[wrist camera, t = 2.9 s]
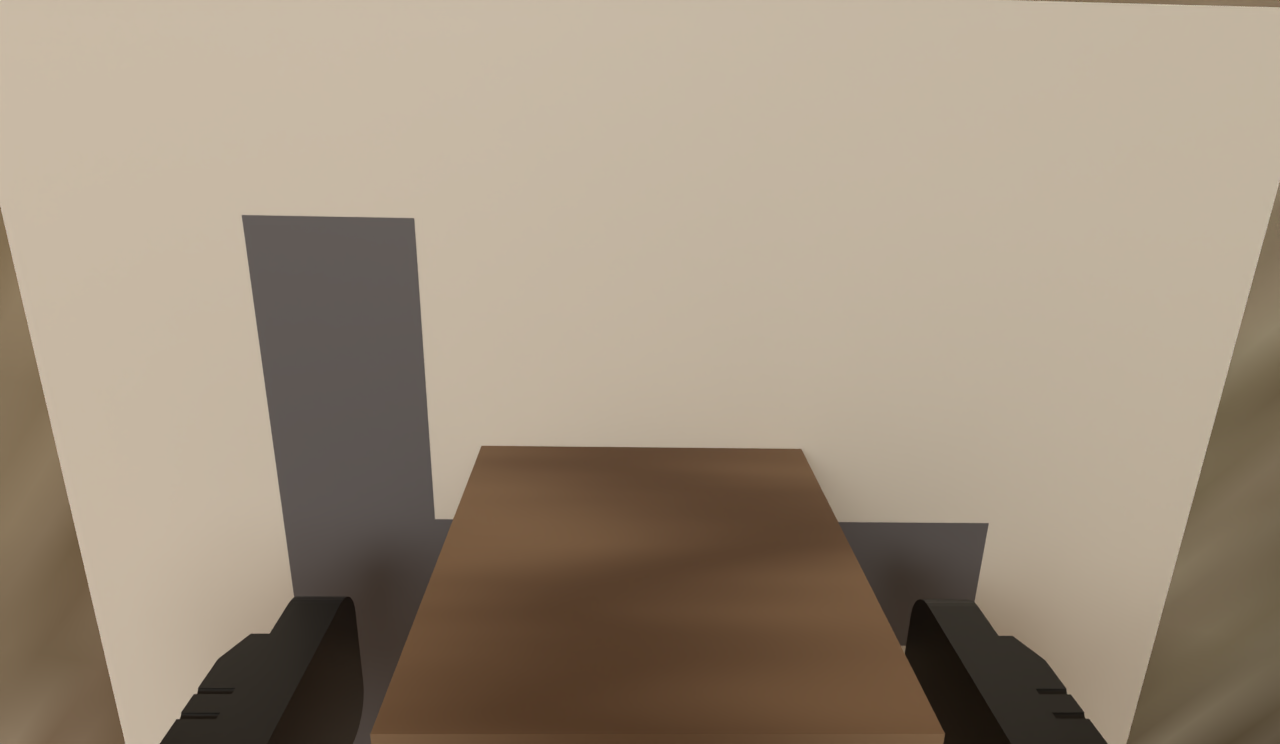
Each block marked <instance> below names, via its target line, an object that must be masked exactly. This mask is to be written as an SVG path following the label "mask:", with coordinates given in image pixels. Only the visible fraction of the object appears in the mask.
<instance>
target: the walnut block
mask: <svg viewBox="0 0 1280 744" xmlns="http://www.w3.org/2000/svg"><path fill="white" fill-rule="evenodd" d="M370 737H371V744H943V742H944V737H945V733H944V731H943V729H942V727H941V725H940V723H939V721H938V719H937V717H936V715H935V713H934V711H933V709H932V707H931V705H930V703H929V701H928V699H927V697H926V695H925V693H924V691H923V689H922V687H921V685H920V683H919V681H918V679H917V677H916V675H915V673H914V671H913V669H912V667H911V665H910V663H909V661H908V659H907V657H906V655H905V654H904V652H903V650H902V648H901V646H900V644H899V642H898V640H897V638H896V636H895V634H894V632H893V630H892V628H891V626H890V624H889V622H888V620H887V618H886V616H885V614H884V612H883V610H882V608H881V606H880V604H879V602H878V600H877V598H876V596H875V594H874V592H873V590H872V588H871V586H870V584H869V582H868V580H867V578H866V576H865V574H864V572H863V570H862V568H861V566H860V564H859V562H858V560H857V558H856V556H855V554H854V552H853V550H852V548H851V546H850V544H849V542H848V541H847V539H846V537H845V535H844V533H843V531H842V529H841V527H840V525H839V523H838V521H837V519H836V517H835V515H834V513H833V511H832V509H831V507H830V505H829V503H828V501H827V499H826V497H825V495H824V493H823V491H822V489H821V487H820V485H819V483H818V481H817V479H816V477H815V475H814V473H813V471H812V469H811V467H810V465H809V463H808V461H807V459H806V457H805V455H804V453H803V451H802V449H761V448H659V447H556V446H481V449H480V451H479V454H478V456H477V459H476V461H475V464H474V467H473V469H472V472H471V474H470V477H469V480H468V482H467V485H466V487H465V490H464V493H463V495H462V498H461V500H460V503H459V506H458V508H457V511H456V513H455V516H454V518H453V521H452V524H451V526H450V529H449V531H448V534H447V537H446V539H445V542H444V544H443V547H442V550H441V552H440V555H439V557H438V560H437V563H436V565H435V568H434V570H433V573H432V575H431V578H430V581H429V583H428V586H427V588H426V591H425V594H424V596H423V599H422V601H421V604H420V607H419V609H418V612H417V614H416V617H415V620H414V622H413V625H412V627H411V630H410V632H409V635H408V638H407V640H406V643H405V645H404V648H403V651H402V653H401V656H400V658H399V661H398V664H397V666H396V669H395V671H394V674H393V677H392V679H391V682H390V684H389V687H388V689H387V692H386V695H385V697H384V700H383V702H382V705H381V708H380V710H379V713H378V715H377V718H376V721H375V723H374V726H373V728H372V731H371V734H370Z"/></svg>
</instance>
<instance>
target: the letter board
mask: <svg viewBox="0 0 1280 744" xmlns="http://www.w3.org/2000/svg"><path fill="white" fill-rule="evenodd" d="M1279 181H1280V7H1242V6H1204V5H1166V4H1128V3H1090V2H1052V1H1014V0H0V207H1V211H2V215H3V220H4V224H5V228H6V232H7V237H8V241H9V245H10V250H11V254H12V258H13V263H14V267H15V271H16V275H17V280H18V284H19V288H20V293H21V297H22V301H23V306H24V310H25V314H26V318H27V323H28V327H29V331H30V336H31V340H32V344H33V349H34V353H35V357H36V361H37V366H38V370H39V374H40V379H41V383H42V387H43V392H44V396H45V400H46V404H47V409H48V413H49V417H50V422H51V426H52V430H53V435H54V439H55V443H56V447H57V452H58V456H59V460H60V465H61V469H62V473H63V478H64V482H65V486H66V490H67V495H68V499H69V503H70V508H71V512H72V516H73V521H74V525H75V529H76V533H77V538H78V542H79V546H80V551H81V555H82V559H83V564H84V568H85V572H86V576H87V581H88V585H89V589H90V594H91V598H92V602H93V607H94V611H95V615H96V619H97V624H98V628H99V632H100V637H101V641H102V645H103V649H104V654H105V658H106V662H107V667H108V671H109V675H110V680H111V684H112V688H113V692H114V697H115V701H116V705H117V710H118V714H119V718H120V723H121V727H122V731H123V735H124V740H125V744H160V742H161V741H162V739H163V738H164V736H165V735H166V734H167V732H168V731H169V729H170V728H171V726H172V725H173V723H174V722H175V720H176V719H180V717H181V712H182V710H183V709H184V707H185V706H186V705H187V703H188V702H189V700H190V699H191V697H192V696H193V694H197V692H198V687H199V686H200V684H201V683H202V681H203V680H204V678H205V677H206V676H207V674H208V673H209V671H210V670H211V668H212V667H213V665H214V664H215V662H216V661H217V660H218V658H220V657H221V656H222V655H224V654H225V653H226V652H227V651H229V650H230V649H231V648H233V647H234V646H235V645H237V644H238V643H239V642H240V641H242V640H243V639H244V638H246V637H247V636H248V635H250V634H270V632H271V631H272V629H273V627H274V626H275V624H276V623H277V621H278V619H279V618H280V616H281V615H282V613H283V611H284V610H285V608H286V607H287V605H288V603H289V602H290V601H291V600H292V599H293V598H294V597H296V596H323V597H351V599H352V600H353V602H354V606H355V612H356V620H357V630H358V639H359V648H360V657H361V666H362V675H363V686H364V699H363V709H362V716H361V721H360V725H359V729H358V732H357V735H356V738H355V740H354V743H353V744H371V737H370V734H371V731H372V728H373V726H374V723H375V721H376V718H377V715H378V713H379V710H380V708H381V705H382V702H383V700H384V697H385V695H386V692H387V689H388V687H389V684H390V682H391V679H392V677H393V674H394V671H395V669H396V666H397V664H398V661H399V658H400V656H401V653H402V651H403V648H404V645H405V643H406V640H407V638H408V635H409V632H410V630H411V627H412V625H413V622H414V620H415V617H416V614H417V612H418V609H419V607H420V604H421V601H422V599H423V596H424V594H425V591H426V588H427V586H428V583H429V581H430V578H431V575H432V573H433V570H434V568H435V565H436V563H437V560H438V557H439V555H440V552H441V550H442V547H443V544H444V542H445V539H446V537H447V534H448V531H449V529H450V526H451V524H452V521H453V518H454V516H455V513H456V511H457V508H458V506H459V503H460V500H461V498H462V495H463V493H464V490H465V487H466V485H467V482H468V480H469V477H470V474H471V472H472V469H473V467H474V464H475V461H476V459H477V456H478V454H479V451H480V449H481V446H556V447H659V448H761V449H802V451H803V453H804V455H805V457H806V459H807V461H808V463H809V465H810V467H811V469H812V471H813V473H814V475H815V477H816V479H817V481H818V483H819V485H820V487H821V489H822V491H823V493H824V495H825V497H826V499H827V501H828V503H829V505H830V507H831V509H832V511H833V513H834V515H835V517H836V519H837V521H838V523H839V525H840V527H841V529H842V531H843V533H844V535H845V537H846V539H847V541H848V542H849V544H850V546H851V548H852V550H853V552H854V554H855V556H856V558H857V560H858V562H859V564H860V566H861V568H862V570H863V572H864V574H865V576H866V578H867V580H868V582H869V584H870V586H871V588H872V590H873V592H874V594H875V596H876V598H877V600H878V602H879V604H880V606H881V608H882V610H883V612H884V614H885V616H886V618H887V620H888V622H889V624H890V626H891V628H892V630H893V632H894V634H895V636H896V638H897V640H898V642H899V644H900V646H901V648H902V650H903V652H904V654H905V648H906V642H907V636H908V630H909V623H910V617H911V612H912V608H913V605H914V603H915V602H916V601H917V600H919V599H950V600H972V601H973V602H975V603H976V604H977V606H978V607H979V608H980V610H981V611H982V613H983V614H984V616H985V617H986V618H987V620H988V621H989V623H990V624H991V626H992V627H993V629H994V630H995V631H996V633H997V634H998V636H1014V637H1015V638H1016V639H1018V640H1019V641H1020V642H1022V643H1023V644H1024V645H1026V646H1027V647H1028V648H1030V649H1031V650H1032V651H1034V652H1035V653H1036V654H1038V655H1039V656H1040V657H1042V658H1043V659H1044V660H1046V662H1047V663H1048V664H1049V666H1050V667H1051V668H1052V670H1053V671H1054V672H1055V674H1056V675H1057V677H1058V678H1059V679H1060V681H1061V682H1062V683H1063V685H1064V686H1065V687H1066V689H1067V694H1071V695H1072V697H1073V698H1074V699H1075V701H1076V702H1077V703H1078V705H1079V706H1080V707H1081V709H1082V710H1083V711H1084V716H1085V718H1086V719H1090V721H1091V722H1092V723H1093V725H1094V726H1095V727H1096V729H1097V730H1098V731H1099V733H1100V734H1101V735H1102V737H1103V738H1104V739H1105V741H1106V742H1107V743H1108V744H1126V743H1127V740H1128V736H1129V732H1130V729H1131V725H1132V721H1133V718H1134V714H1135V710H1136V707H1137V703H1138V699H1139V696H1140V692H1141V688H1142V685H1143V681H1144V677H1145V673H1146V670H1147V666H1148V662H1149V659H1150V655H1151V651H1152V648H1153V644H1154V640H1155V637H1156V633H1157V629H1158V626H1159V622H1160V618H1161V615H1162V611H1163V607H1164V604H1165V600H1166V596H1167V593H1168V589H1169V585H1170V582H1171V578H1172V574H1173V571H1174V567H1175V563H1176V560H1177V556H1178V552H1179V549H1180V545H1181V541H1182V538H1183V534H1184V530H1185V527H1186V523H1187V519H1188V516H1189V512H1190V508H1191V505H1192V501H1193V497H1194V494H1195V490H1196V486H1197V483H1198V479H1199V475H1200V472H1201V468H1202V464H1203V461H1204V457H1205V453H1206V450H1207V446H1208V442H1209V439H1210V435H1211V431H1212V427H1213V424H1214V420H1215V416H1216V413H1217V409H1218V405H1219V402H1220V398H1221V394H1222V391H1223V387H1224V383H1225V380H1226V376H1227V372H1228V369H1229V365H1230V361H1231V358H1232V354H1233V350H1234V347H1235V343H1236V339H1237V336H1238V332H1239V328H1240V325H1241V321H1242V317H1243V314H1244V310H1245V306H1246V303H1247V299H1248V295H1249V292H1250V288H1251V284H1252V281H1253V277H1254V273H1255V270H1256V266H1257V262H1258V259H1259V255H1260V251H1261V248H1262V244H1263V240H1264V237H1265V233H1266V229H1267V226H1268V222H1269V218H1270V215H1271V211H1272V207H1273V204H1274V200H1275V196H1276V193H1277V189H1278V185H1279Z"/></svg>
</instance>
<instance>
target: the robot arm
mask: <svg viewBox="0 0 1280 744" xmlns="http://www.w3.org/2000/svg"><path fill="white" fill-rule="evenodd" d="M905 655H906V657H907V659H908V661H909V663H910V665H911V667H912V669H913V671H914V673H915V675H916V677H917V679H918V681H919V683H920V685H921V687H922V689H923V691H924V693H925V695H926V697H927V699H928V701H929V703H930V705H931V707H932V709H933V711H934V713H935V715H936V717H937V719H938V721H939V723H940V725H941V727H942V729H943V731H944V733H945V737H944V742H943V744H1108V743H1107V742H1106V741H1105V739H1104V738H1103V737H1102V735H1101V734H1100V733H1099V731H1098V730H1097V729H1096V727H1095V726H1094V725H1093V723H1092V722H1091V721H1090V719H1086V718H1085V716H1084V711H1083V710H1082V709H1081V707H1080V706H1079V705H1078V703H1077V702H1076V701H1075V699H1074V698H1073V697H1072V695H1071V694H1067V689H1066V687H1065V686H1064V685H1063V683H1062V682H1061V681H1060V679H1059V678H1058V677H1057V675H1056V674H1055V672H1054V671H1053V670H1052V668H1051V667H1050V666H1049V664H1048V663H1047V662H1046V660H1044V659H1043V658H1042V657H1040V656H1039V655H1038V654H1036V653H1035V652H1034V651H1032V650H1031V649H1030V648H1028V647H1027V646H1026V645H1024V644H1023V643H1022V642H1020V641H1019V640H1018V639H1016V638H1015V637H1014V636H998V634H997V633H996V631H995V630H994V629H993V627H992V626H991V624H990V623H989V621H988V620H987V618H986V617H985V616H984V614H983V613H982V611H981V610H980V608H979V607H978V606H977V604H976V603H975V602H973V601H972V600H950V599H919V600H917V601H916V602H915V603H914V605H913V608H912V612H911V617H910V623H909V630H908V636H907V642H906V648H905ZM363 699H364V686H363V675H362V666H361V657H360V648H359V639H358V630H357V620H356V612H355V606H354V602H353V600H352V599H351V597H323V596H296V597H294V598H293V599H292V600H291V601H290V602H289V603H288V605H287V607H286V608H285V610H284V611H283V613H282V615H281V616H280V618H279V619H278V621H277V623H276V624H275V626H274V627H273V629H272V631H271V632H270V634H250V635H248V636H247V637H246V638H244V639H243V640H242V641H240V642H239V643H238V644H237V645H235V646H234V647H233V648H231V649H230V650H229V651H227V652H226V653H225V654H224V655H222V656H221V657H220V658H218V660H217V661H216V662H215V664H214V665H213V667H212V668H211V670H210V671H209V673H208V674H207V676H206V677H205V678H204V680H203V681H202V683H201V684H200V686H199V687H198V692H197V694H193V696H192V697H191V699H190V700H189V702H188V703H187V705H186V706H185V707H184V709H183V710H182V712H181V717H180V719H176V720H175V722H174V723H173V725H172V726H171V728H170V729H169V731H168V732H167V734H166V735H165V736H164V738H163V739H162V741H161V742H160V744H353V743H354V740H355V738H356V735H357V732H358V729H359V725H360V721H361V716H362V709H363Z"/></svg>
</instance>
